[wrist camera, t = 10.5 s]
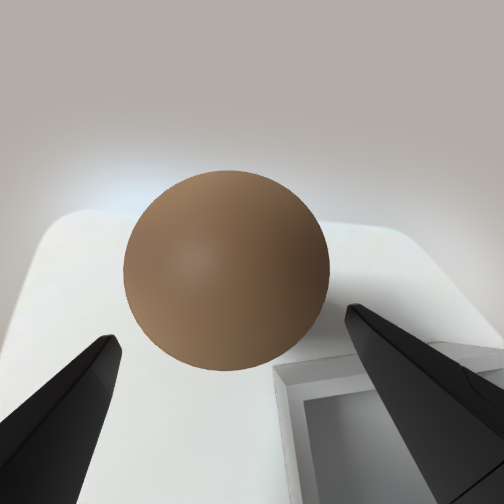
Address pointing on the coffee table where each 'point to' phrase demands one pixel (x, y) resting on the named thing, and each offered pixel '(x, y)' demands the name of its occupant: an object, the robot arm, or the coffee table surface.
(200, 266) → the walnut canister
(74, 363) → the robot arm
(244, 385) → the coffee table surface
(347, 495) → the tote
